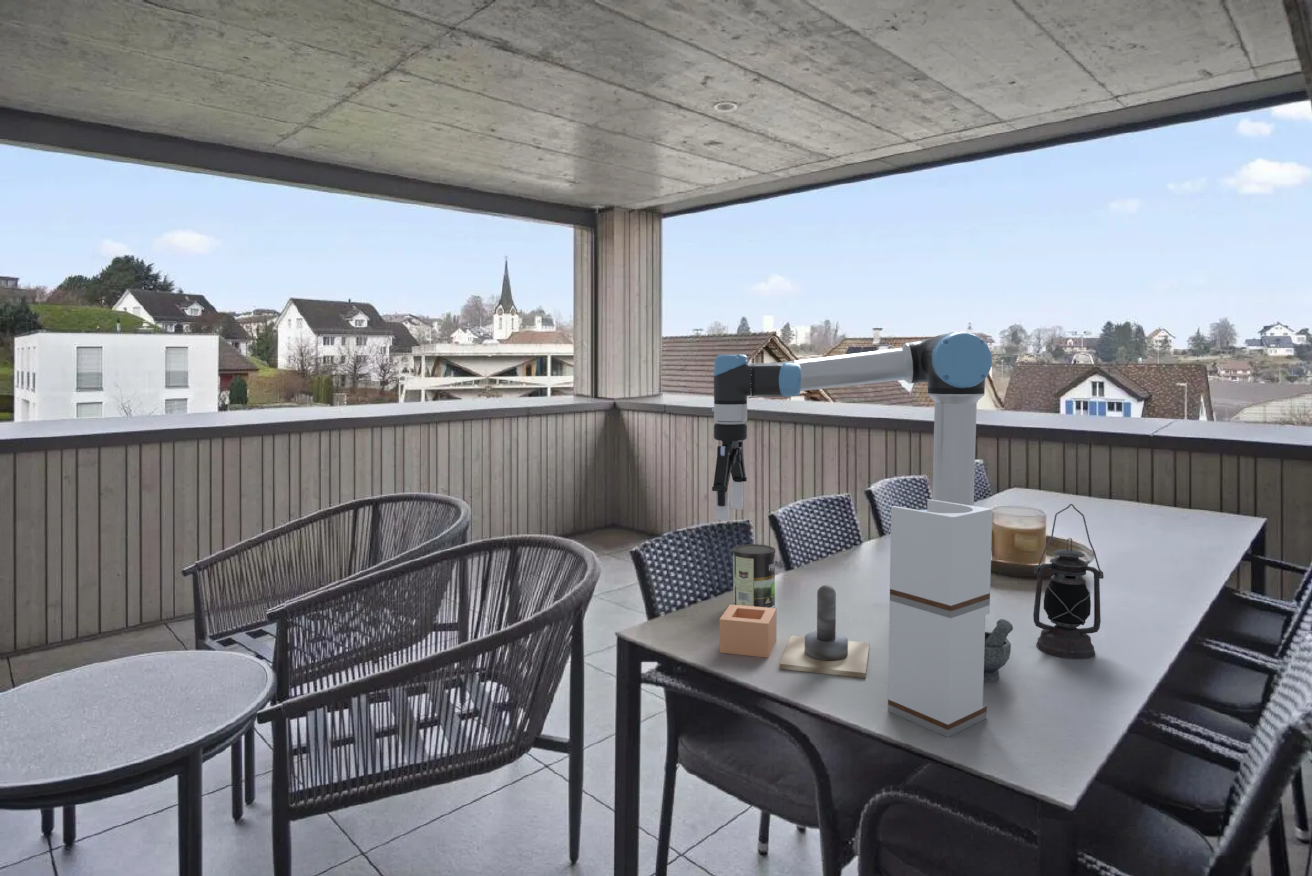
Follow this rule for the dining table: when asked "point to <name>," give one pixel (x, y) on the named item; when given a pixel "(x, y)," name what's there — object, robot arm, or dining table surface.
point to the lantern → (1067, 603)
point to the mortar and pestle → (996, 649)
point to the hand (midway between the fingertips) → (730, 514)
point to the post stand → (826, 645)
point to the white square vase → (939, 614)
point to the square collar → (748, 630)
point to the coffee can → (754, 575)
